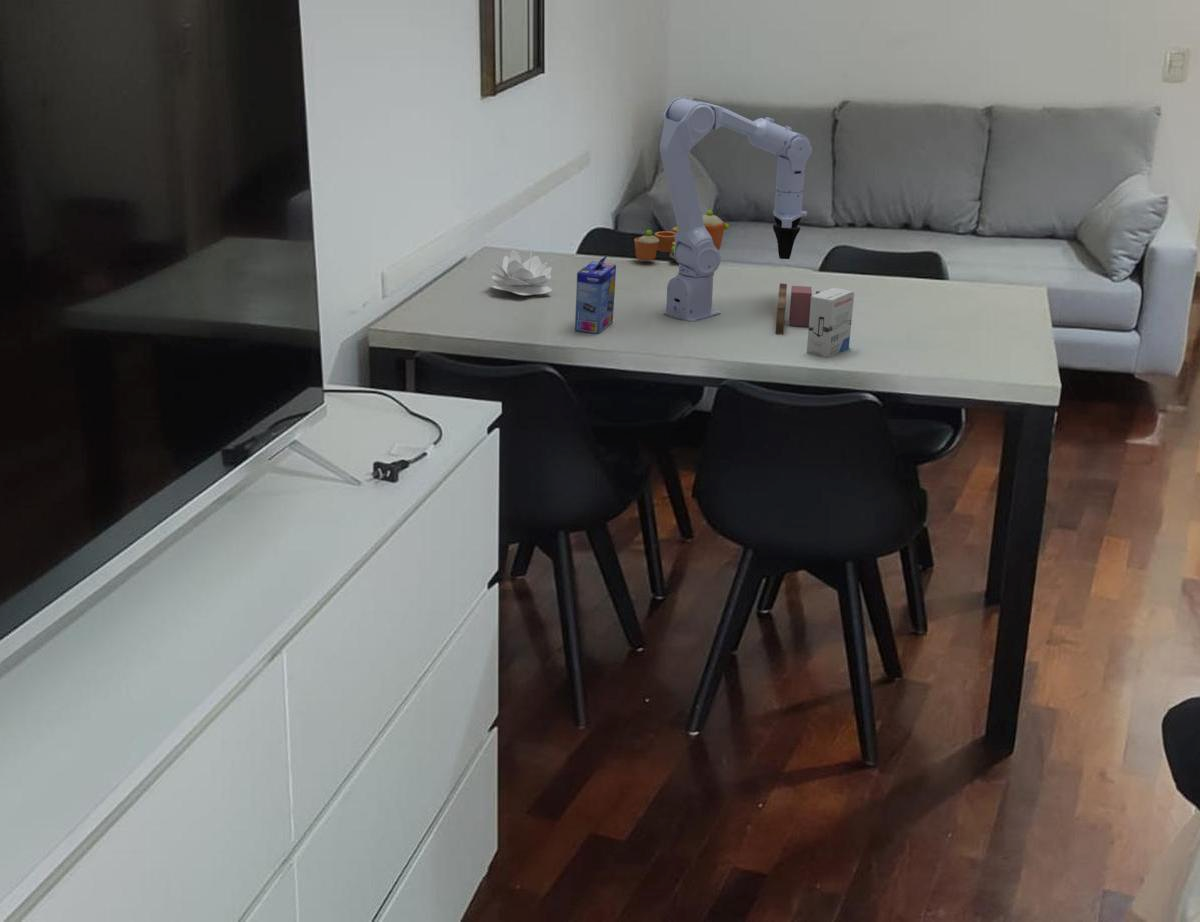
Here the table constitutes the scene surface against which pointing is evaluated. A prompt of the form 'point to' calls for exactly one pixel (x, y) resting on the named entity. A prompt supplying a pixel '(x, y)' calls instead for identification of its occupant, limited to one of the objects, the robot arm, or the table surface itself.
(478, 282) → the table surface
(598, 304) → the ink cartridge box
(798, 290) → the mauve rectangular block
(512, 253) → the lotus flower
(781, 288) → the shelf wall
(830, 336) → the ink box
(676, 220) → the robot arm
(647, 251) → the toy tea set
